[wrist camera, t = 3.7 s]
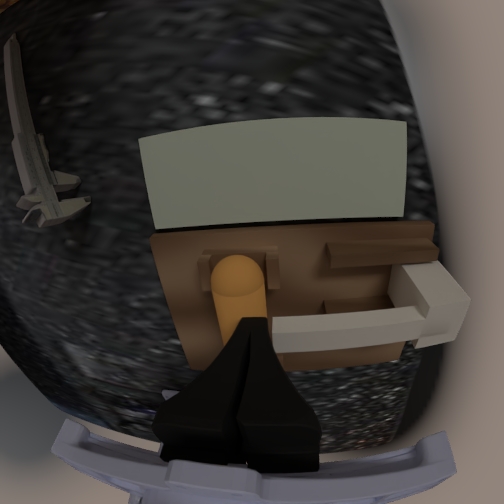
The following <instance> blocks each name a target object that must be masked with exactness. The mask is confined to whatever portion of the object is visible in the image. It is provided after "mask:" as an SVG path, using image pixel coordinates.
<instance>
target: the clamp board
mask: <svg viewBox="0 0 504 504" xmlns="http://www.w3.org/2000/svg"><path fill="white" fill-rule="evenodd" d="M434 226H435V225H434V224H433V223H432V222H430V221H380V222H346V223H319V224H297V225H276V226H258V227H241V228H225V229H210V230H196V231H182V232H169V233H157V234H153V235H152V236H151V237H150V238H149V240H150V244H151V248H152V252H153V256H154V259H155V263H156V267H157V270H158V274H159V277H160V280H161V284H162V287H163V290H164V294H165V297H166V300H167V303H168V306H169V309H170V312H171V315H172V318H173V321H174V324H175V327H176V330H177V333H178V336H179V339H180V341H181V344H182V347H183V350H184V352H185V355H186V358H187V360H188V363H189V365H190V368H191V369H194V370H206V368H207V367H208V366H209V365H210V364H211V363H212V362H213V361H214V359H215V358H216V357H217V356H218V354H219V353H220V352H221V350H222V349H223V348H224V343H223V339H222V335H221V330H220V326H219V322H218V317H217V312H216V308H215V303H214V298H213V294H212V289H211V275H212V272H213V269H214V268H215V266H216V265H217V263H218V262H220V261H221V260H222V259H224V258H225V257H228V256H231V255H244V256H247V257H249V258H251V259H252V260H254V261H255V262H256V263H257V264H258V265H259V267H260V268H261V270H262V273H263V277H264V285H265V297H266V309H267V318H268V330H269V335H270V338H271V342H272V344H273V339H272V323H273V317H287V316H308V315H324V314H339V313H351V312H362V311H373V310H383V309H392V308H395V306H394V304H393V302H392V301H391V299H390V297H389V295H388V293H387V291H388V286H389V281H390V275H391V270H392V264H404V263H418V262H431V261H437V258H438V254H439V249H438V248H437V247H436V246H435V245H434V244H433V243H432V239H433V233H434ZM404 344H405V341H402V342H395V343H388V344H381V345H373V346H365V347H356V348H346V349H336V350H323V351H308V352H286V353H276V355H277V357H278V359H279V361H280V363H281V365H282V367H283V369H284V371H302V370H318V369H331V368H342V367H351V366H360V365H368V364H375V363H382V362H388V361H395V360H398V359H399V357H400V354H401V352H402V349H403V346H404Z"/></svg>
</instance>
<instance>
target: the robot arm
mask: <svg viewBox="0 0 504 504" xmlns="http://www.w3.org/2000/svg"><path fill="white" fill-rule="evenodd" d="M162 395H163V396H164V398H165V400H166V401H164V402H162V403H161V404H160V406H159V408H158V410H157V412H156V415H155V418H154V420H153V423H152V431H153V432H154V434H155V435H156V436H157V437H158V438H159V440H160V441H161V444H160V448H159V451H158V452H154V451H150V450H146V449H142V448H138V447H134V446H131V445H127V444H124V443H120V442H117V441H114V440H111V439H107V438H105V437H102V436H99V435H96V434H93V433H91V432H90V431H89V430H88V429H87V428H86V427H85V426H83V425H82V424H80V423H77V422H75V421H73V420H70V419H66V420H65V422H64V424H63V426H62V428H61V430H60V432H59V434H58V436H57V438H56V440H55V442H54V444H53V446H52V448H51V452H52V453H54V454H55V455H56V456H58V457H59V458H60V459H62V460H63V461H65V462H66V463H67V464H69V465H70V466H72V467H73V468H75V469H76V470H78V471H80V472H82V473H84V474H86V475H89V476H91V477H93V478H95V479H97V480H99V481H102V482H104V483H106V484H108V485H111V486H113V487H116V488H118V489H121V490H123V491H126V492H128V493H130V498H129V502H128V504H385V503H389V502H392V501H395V500H399V499H402V498H405V497H408V496H411V495H414V494H417V493H420V492H423V491H426V490H428V489H431V488H433V487H435V486H437V485H438V484H440V483H442V482H443V481H445V480H446V479H448V478H449V477H451V476H452V475H454V474H455V473H456V472H457V470H456V466H455V462H454V458H453V454H452V451H451V447H450V444H449V441H448V437H447V435H446V431H441V432H439V433H436V434H433V435H430V436H427V437H424V438H422V439H421V440H419V441H418V442H417V444H416V445H415V446H411V447H407V448H404V449H400V450H396V451H392V452H387V453H383V454H378V455H373V456H369V457H362V458H356V459H350V460H344V461H335V462H326V463H319V452H320V448H319V443H320V440H321V436H322V431H321V426H320V423H319V421H318V419H317V416H316V414H315V412H314V410H313V408H312V407H311V406H310V405H309V404H308V403H307V402H306V401H305V400H304V398H303V397H302V396H301V395H300V393H299V392H298V391H297V389H296V388H295V387H294V385H293V384H292V382H291V381H290V379H289V378H288V376H287V374H286V373H285V371H284V369H283V367H282V365H281V363H280V361H279V359H278V357H277V355H276V352H275V350H274V347H273V344H272V342H271V338H270V335H269V330H268V318H266V317H242V318H241V319H240V321H239V323H238V325H237V327H236V329H235V331H234V332H233V334H232V336H231V337H230V339H229V340H228V342H227V343H226V345H225V346H224V348H223V349H222V350H221V352H220V353H219V354H218V356H217V357H216V358H215V359H214V361H213V362H212V363H211V364H210V365H209V366H208V367H207V368H206V370H205V371H204V372H202V373H201V374H200V375H199V376H198V377H197V378H196V379H195V380H194V381H193V382H192V383H190V384H189V385H188V386H186V387H185V388H184V389H183V390H181V391H172V390H163V391H162ZM246 462H247V464H246Z"/></svg>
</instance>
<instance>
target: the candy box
mask: <svg viewBox="0 0 504 504" xmlns="http://www.w3.org/2000/svg"><path fill="white" fill-rule="evenodd" d="M17 1H19V0H0V13H1V12H3V11H4V10H6V9H7V8H8V7H10V6H11V5H13V4H14V3H16V2H17Z"/></svg>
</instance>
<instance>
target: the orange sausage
mask: <svg viewBox="0 0 504 504" xmlns="http://www.w3.org/2000/svg"><path fill="white" fill-rule="evenodd" d="M211 289H212V294H213V298H214V303H215V308H216V312H217V317H218V322H219V326H220V330H221V335H222V339H223V343H224V346H225V345H226V343H227V342H228V340H229V339H230V337H231V336H232V334H233V332H234V331H235V329H236V327H237V325H238V323H239V321H240V319H241V318H242V317H266V318H267V309H266V297H265V285H264V277H263V273H262V270H261V268H260V267H259V265H258V264H257V263H256V262H255V261H254V260H252V259H251V258H249V257H247V256H244V255H231V256H228V257H225V258H224V259H222V260H221V261H220V262H218V263H217V265H216V266H215V268H214V269H213V272H212V275H211Z"/></svg>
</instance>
